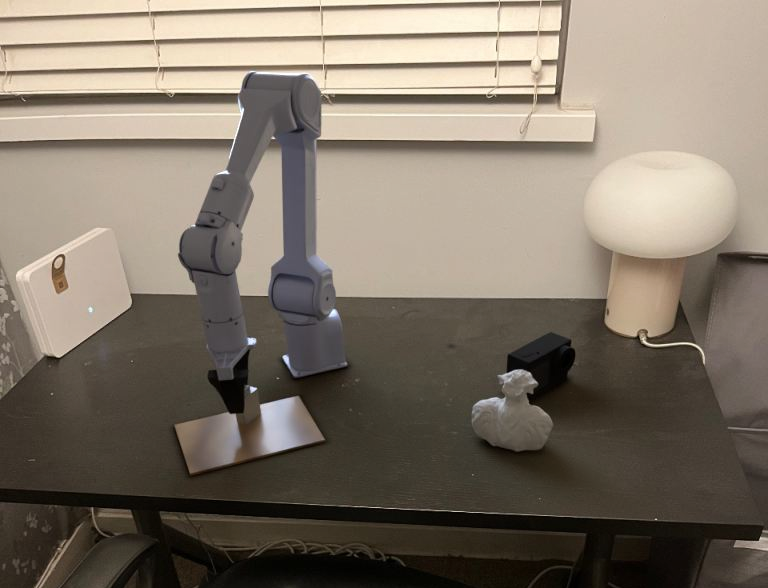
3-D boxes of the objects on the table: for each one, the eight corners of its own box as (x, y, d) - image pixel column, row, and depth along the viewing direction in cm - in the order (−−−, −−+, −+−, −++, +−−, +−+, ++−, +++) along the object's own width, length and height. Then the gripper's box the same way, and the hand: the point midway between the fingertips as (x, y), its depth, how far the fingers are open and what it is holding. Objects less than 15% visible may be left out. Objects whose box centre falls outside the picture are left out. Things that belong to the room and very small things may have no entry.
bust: (550, 460, 110) (571, 384, 109) (539, 456, 103) (561, 374, 102) (473, 441, 115) (492, 368, 114) (457, 436, 108) (478, 357, 107)
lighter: (253, 409, 120) (244, 364, 115) (261, 412, 120) (253, 366, 115) (224, 432, 116) (214, 385, 111) (233, 435, 115) (223, 388, 110)
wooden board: (298, 397, 123) (298, 395, 123) (325, 441, 113) (324, 439, 113) (174, 426, 118) (174, 424, 118) (190, 475, 108) (189, 473, 108)
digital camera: (531, 406, 118) (535, 365, 113) (504, 393, 121) (507, 353, 117) (573, 381, 123) (578, 341, 119) (546, 370, 126) (550, 330, 122)
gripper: (247, 335, 101) (263, 422, 110) (254, 291, 112) (267, 373, 121) (194, 339, 101) (213, 426, 109) (205, 294, 112) (222, 376, 121)
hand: (238, 399), depth 115 cm, fingers open, 7 cm apart
